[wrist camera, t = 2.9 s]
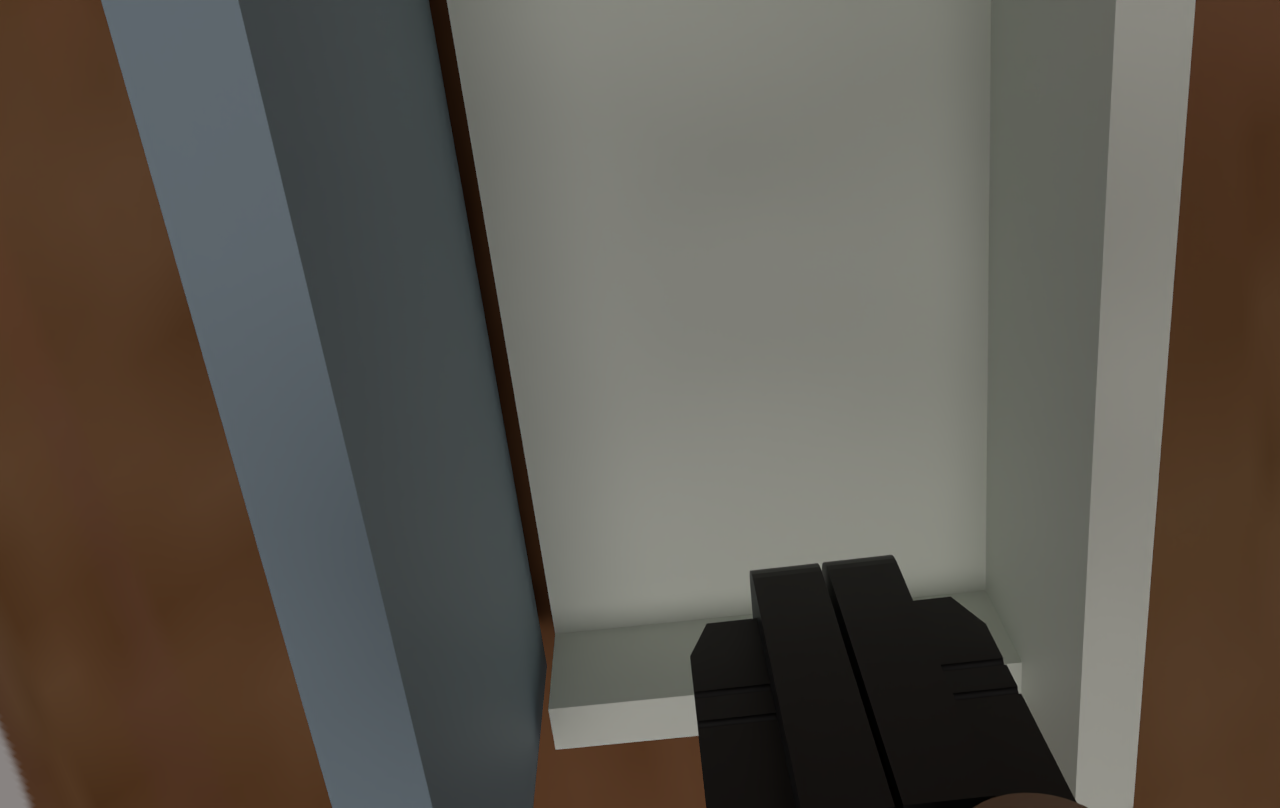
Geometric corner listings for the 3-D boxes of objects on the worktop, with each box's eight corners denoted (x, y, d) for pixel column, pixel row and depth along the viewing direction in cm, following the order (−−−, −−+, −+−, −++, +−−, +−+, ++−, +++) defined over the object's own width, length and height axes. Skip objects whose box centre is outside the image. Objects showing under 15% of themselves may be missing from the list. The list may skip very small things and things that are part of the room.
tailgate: (413, -114, 20) (213, -103, 10) (547, 652, 26) (504, 1103, 16) (343, -105, 20) (76, -86, 10) (494, 657, 26) (419, 1112, 16)
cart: (1028, -275, 20) (1221, -348, 13) (1010, 586, 27) (1132, 810, 20) (426, -199, 20) (333, -234, 14) (564, 631, 27) (546, 865, 21)
